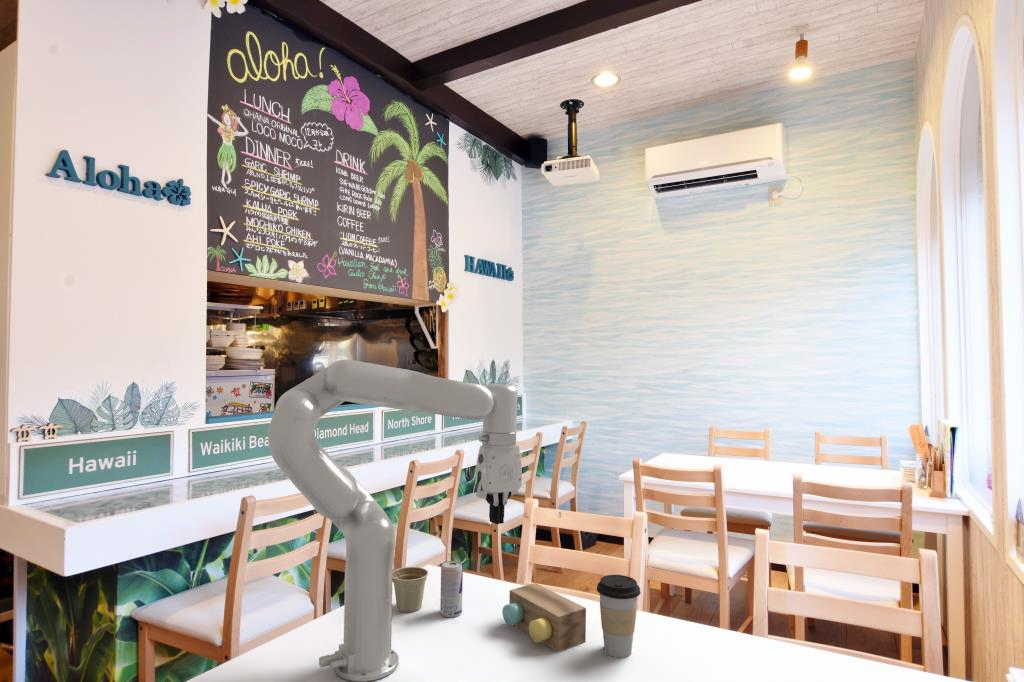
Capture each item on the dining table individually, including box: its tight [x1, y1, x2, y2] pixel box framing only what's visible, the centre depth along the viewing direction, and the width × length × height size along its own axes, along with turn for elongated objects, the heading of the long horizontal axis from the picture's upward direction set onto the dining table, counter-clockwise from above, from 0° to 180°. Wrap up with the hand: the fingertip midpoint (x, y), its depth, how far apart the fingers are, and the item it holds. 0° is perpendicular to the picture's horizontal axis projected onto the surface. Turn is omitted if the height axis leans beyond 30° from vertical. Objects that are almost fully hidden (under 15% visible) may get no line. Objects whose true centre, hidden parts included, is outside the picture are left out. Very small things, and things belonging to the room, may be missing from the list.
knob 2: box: [529, 617, 552, 643], centre depth 134 cm, size 11×4×4 cm, turn 127°
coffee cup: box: [596, 574, 642, 658], centre depth 130 cm, size 9×9×15 cm
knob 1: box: [501, 602, 524, 626], centre depth 142 cm, size 11×4×4 cm, turn 127°
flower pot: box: [392, 566, 429, 613], centre depth 151 cm, size 9×9×9 cm
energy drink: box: [439, 560, 464, 619], centre depth 148 cm, size 5×5×12 cm
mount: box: [508, 582, 587, 653], centre depth 139 cm, size 8×18×8 cm, turn 37°
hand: (496, 522), depth 133 cm, fingers closed
